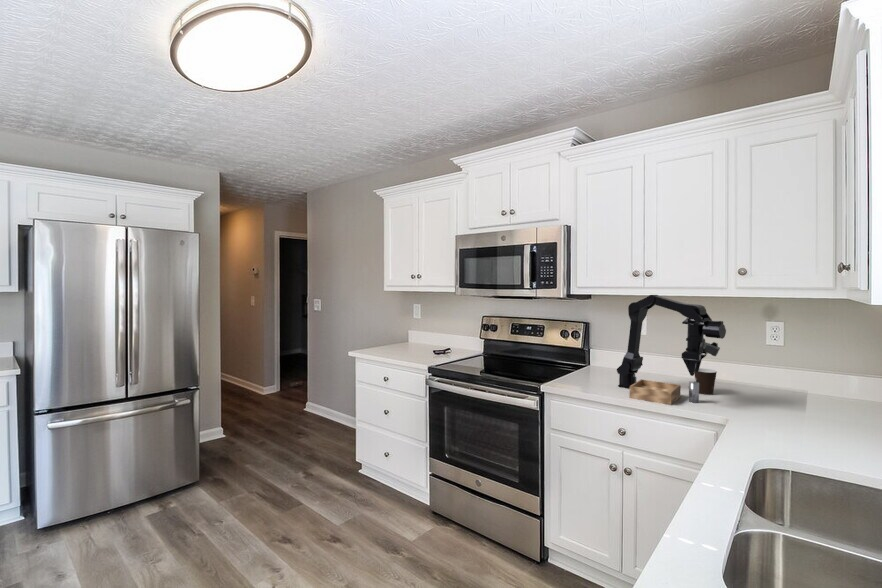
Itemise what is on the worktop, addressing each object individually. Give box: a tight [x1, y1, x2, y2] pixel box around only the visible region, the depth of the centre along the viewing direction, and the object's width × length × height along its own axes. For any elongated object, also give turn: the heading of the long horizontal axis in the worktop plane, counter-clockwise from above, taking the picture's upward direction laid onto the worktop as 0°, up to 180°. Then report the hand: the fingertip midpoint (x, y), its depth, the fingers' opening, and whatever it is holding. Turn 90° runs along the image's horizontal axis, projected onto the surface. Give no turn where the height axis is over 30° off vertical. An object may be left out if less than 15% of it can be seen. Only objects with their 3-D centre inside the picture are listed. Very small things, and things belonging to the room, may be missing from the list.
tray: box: [628, 379, 682, 406], centre depth 190 cm, size 16×16×5 cm
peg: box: [688, 380, 700, 404], centre depth 183 cm, size 4×4×8 cm
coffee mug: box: [694, 367, 718, 396], centre depth 198 cm, size 12×9×10 cm
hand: (694, 373), depth 183 cm, fingers open, 9 cm apart
